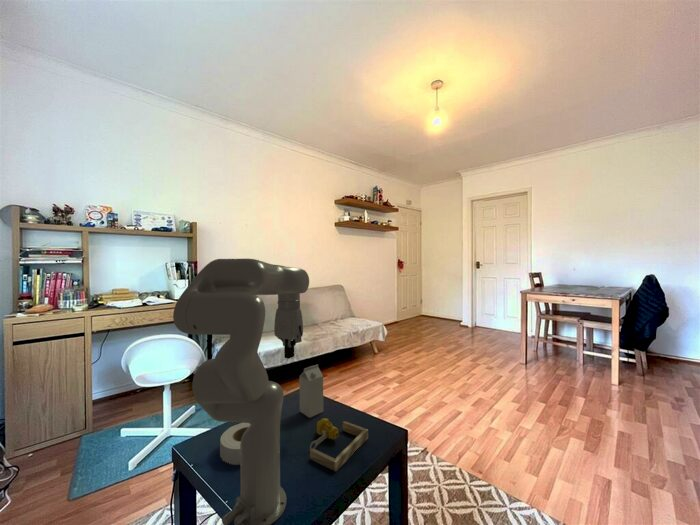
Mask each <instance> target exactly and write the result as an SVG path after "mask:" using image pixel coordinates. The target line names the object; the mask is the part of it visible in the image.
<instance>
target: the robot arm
mask: <svg viewBox="0 0 700 525" xmlns="http://www.w3.org/2000/svg"><path fill="white" fill-rule="evenodd" d="M309 286H310V277H309V274H308V272H307V271H306V269H303V268H301V267H300V268H299V267H292V266H285V265H280V264H272V263H268V262H265V261H262V260H259V259H256V258H216V259H214V260H212V261H210V262H208V263H207V264H205V265H204V266H203V268H202V269H201V270H200V271H199V272H198V273H197V275H195V277H194V278H193V279H192V281H191V282H190V283H189V285H188V286H187V287H186V288H185V290H184V291H183V292H182V293H181V295H180V296H179V298H178V299H177V301H176V303H175V306H174V308H173V314H172V315H173V316H172V320H173V323H174V325H175V327H176V328H177V330H179V331H180V332H182V333H184V334H187V335H196V336H197V335H206V336H207V335H208V336H210V335H213V336H215V335H218V336H219V335H220V336H224V335H226V336H228V335H229V336H230V337H229V339H227V340H226V341H225V342H224V343H223V344H222V345H221V347H220V348H219V350H218V351H217V353H215V357H214V358H210V359H207V360H205V361H204V362H202V363H201V364H200V365H199V366H198V367H197V369H196V370H195V372H194V374H193V378H192V386H191V387H192V394H193V398H194V399H195V401H196V404H198V405H199V406H200V407H201V408H202V410H203V411H204V412H205V413H206V414H207V415H208V416H210V418H211V419H213V420H215V421H217V422H224V423H249V424H250V426H249V427H248V428H247V429H246V431H245V432H244V434H243V436H242V438H241V443H240V469H239V470H240V495H238V496H237V497H236V503H235V505H234V506H233V509H231V510H230V511H228V512H227V513H226V514H225V515H224V516H222V518H221V522H222V525H229V524H230V523H231V522H232V521H233V524H234V525H272V524H273V523H275V522H276V521H277V520H278V519H279V518H281V516H282V515H283V513H284V511H285V509H286V505H287V493H286V492H285V490H284V488H283V487H282V486H281V441H280V440H281V431H280V430H281V418H282V412H283V411H282V409H283V402H284V390H283V387H282V386H281V385H280V384H279V383H278V382H275V381H272V380H269V375H268V373H267V370H266V368H265V365H264V363H263V361H262V359H261V357H260V355H259V353H258V352H259V351H258V350H259V348H260V343H261V340H262V336H263V331H264V326H265V320H266V306H265V303H264V300H263V299H262V298H261V297H260V296H262V295H263V296H269V295H270V296H274V295H277V308H276V311H275V315H274V316H275V317H274V327H273V328H274V332H273V333H274V334H273V335H274V336H275V337H276V338H277V339H278V340H280V341H281V342H282V347H284V348H283V349H284V351H283V352H284V359H287V360H288V359H291V358H293V357H295V346H296V345H297V344H299V343H301V342H303V341H302V339H303V338H302V337H303V335H304V324H303V323H304V320H303V315H302V314H303V313H302V309H301V298H300V296H301V295H300V294H305V293H306V292H307V291H308V289H309Z"/></svg>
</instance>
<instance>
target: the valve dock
mask: <svg viewBox="0 0 700 525" xmlns="http://www.w3.org/2000/svg"><path fill="white" fill-rule="evenodd" d="M342 431H343V432H346V433H348V434H351V435H353V436H356V437H355V438H354V439H353V440H352V441H351V442H350V443H349V444H348V446H346V448H344V449H343V450H342V451H341V452H340V453H339V454H338V455H337V456H336V458H335V457H333V456H330V455H329V454H326V453H324V452H322V451H320V450H319V449H318V450H317V449H316V448H315V449H313V448H314V447H313V448H312V447H311V448H312V449H311V450H310V449H309V459H310V460H311V461H312V462H315V463H317V464H320V465H322V466H323V467H326V468H328V470H331V471H333V472H335V473H336V472H338V470H340V468H342V466H343V465H345V463H346V462H347V461H348V460H350V459H351V457H352V456H354V454H355V453H356V452H357V451H358V450H359V449H360V448H361V446H363V444H364V443H365V442H366V441H367V440H368V439H369V429H367V428H365V427H362V426H359V425H357V424H354V423H351V422H349V421H346V420H344V421H342ZM359 447H360V448H359ZM358 448H359V449H358ZM357 449H358V450H357ZM356 450H357V451H356ZM355 451H356V452H355ZM354 452H355V453H354Z"/></svg>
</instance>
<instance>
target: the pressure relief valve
mask: <svg viewBox="0 0 700 525" xmlns="http://www.w3.org/2000/svg"><path fill="white" fill-rule="evenodd" d="M316 433H317V434H318V435H319V436H320V437H318V438H317V439H316V440H313V441H312V442H311V443H310V445H309V451H310V450H311V449H312V446H313V444H315V445H314V447H313V449H315V450H316V449H317V446H318V445H319V444H321V443H322V442H323V441H324V440H325V439H329V440H330V439H331V440H335V439H336V438H338V437H339V429H338V428H337V427H336V426H334V425H333V423H332V422H330V420H329V419H328V418H321V419H320V420H318V421H317V423H316Z"/></svg>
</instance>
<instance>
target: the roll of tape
mask: <svg viewBox="0 0 700 525" xmlns="http://www.w3.org/2000/svg"><path fill="white" fill-rule="evenodd" d="M249 426H250V424H249V423H243V422H239V423H238V424H235V425H232V426H230V427H228V428H227V429H226V430H225V431H223V433H222V435H221V436H220V441H219V442H220V443H219V456H220V459H221V458H222V459H221V460H222V461H223V462H224V461H225V462H224V463H226V462H227V463H226V464H228V463H229V465H233V466H238V465H240V443H241V438H242V436H243V434H244V432H245V431H246V429H247V428H248V427H249Z"/></svg>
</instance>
